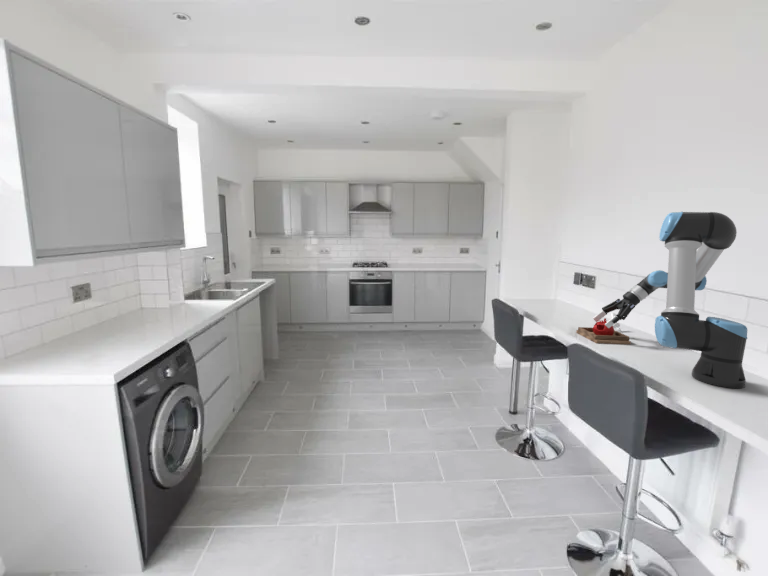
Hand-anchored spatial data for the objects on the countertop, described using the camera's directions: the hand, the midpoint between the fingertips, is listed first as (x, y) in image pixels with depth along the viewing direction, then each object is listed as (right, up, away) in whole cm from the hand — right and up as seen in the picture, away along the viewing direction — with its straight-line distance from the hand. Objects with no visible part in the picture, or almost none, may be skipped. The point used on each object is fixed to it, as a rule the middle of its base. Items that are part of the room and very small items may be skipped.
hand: (600, 323), depth 196 cm
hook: (+18, -6, +18) cm, 26 cm away
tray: (+1, -8, +1) cm, 8 cm away
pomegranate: (+2, -7, +1) cm, 7 cm away
